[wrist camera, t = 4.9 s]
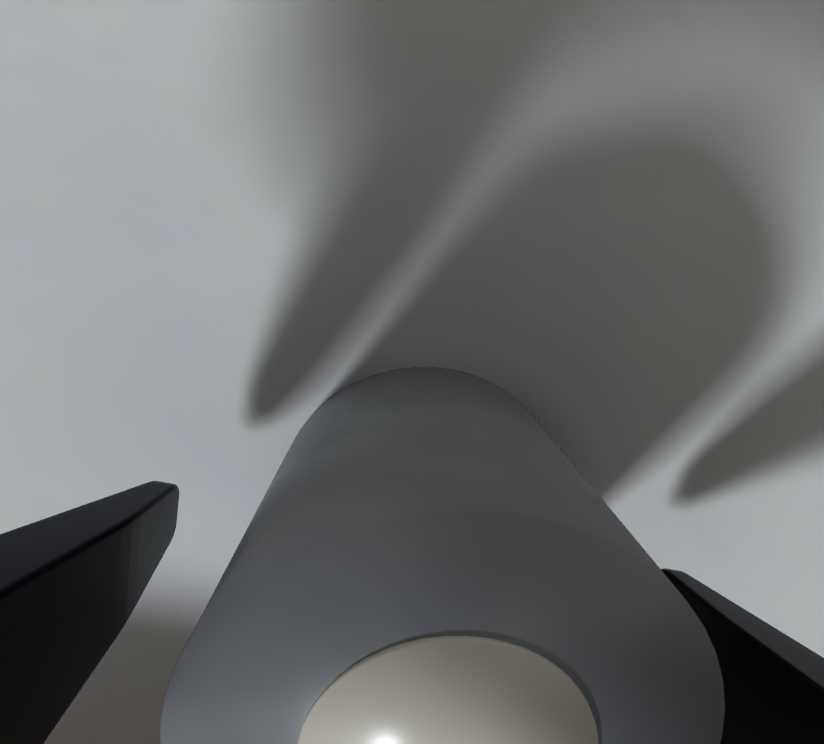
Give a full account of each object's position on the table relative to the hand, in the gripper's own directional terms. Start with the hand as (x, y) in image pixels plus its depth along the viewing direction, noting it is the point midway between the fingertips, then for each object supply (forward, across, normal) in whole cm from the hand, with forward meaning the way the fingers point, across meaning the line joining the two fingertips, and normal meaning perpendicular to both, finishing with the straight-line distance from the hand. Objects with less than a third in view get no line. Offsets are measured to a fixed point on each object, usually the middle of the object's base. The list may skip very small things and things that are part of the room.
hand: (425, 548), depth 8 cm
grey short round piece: (+2, 0, 0) cm, 2 cm away
